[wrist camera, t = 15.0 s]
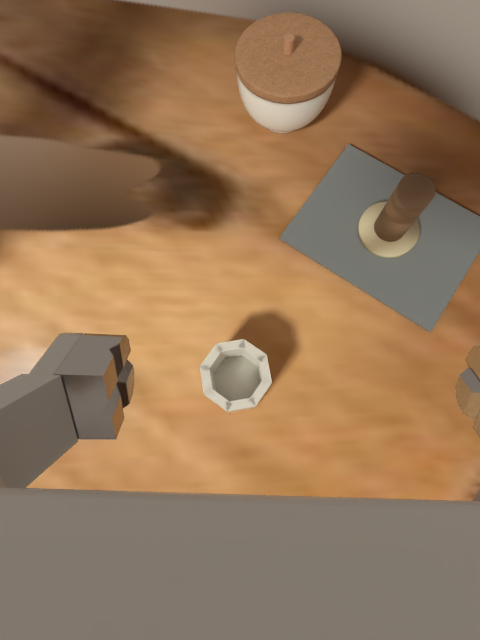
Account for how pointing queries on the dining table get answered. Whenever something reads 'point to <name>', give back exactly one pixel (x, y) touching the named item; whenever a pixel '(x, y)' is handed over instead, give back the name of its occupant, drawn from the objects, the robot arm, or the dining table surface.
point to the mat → (375, 272)
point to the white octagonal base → (235, 375)
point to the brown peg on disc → (396, 218)
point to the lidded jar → (286, 70)
